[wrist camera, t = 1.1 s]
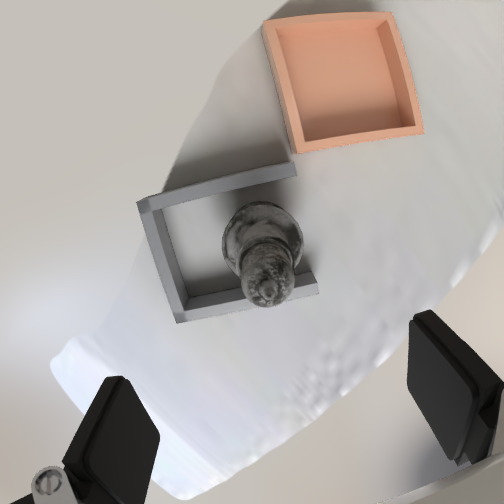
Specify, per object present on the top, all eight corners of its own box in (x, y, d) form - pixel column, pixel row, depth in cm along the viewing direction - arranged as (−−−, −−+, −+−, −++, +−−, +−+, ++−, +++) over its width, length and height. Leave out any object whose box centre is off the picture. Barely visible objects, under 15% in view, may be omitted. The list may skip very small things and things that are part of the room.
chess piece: (210, 236, 27) (182, 302, 15) (258, 182, 25) (265, 209, 14) (264, 280, 28) (273, 367, 16) (311, 230, 27) (355, 290, 15)
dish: (378, 23, 21) (391, 12, 18) (407, 134, 24) (424, 133, 21) (261, 34, 22) (263, 21, 19) (292, 153, 25) (297, 154, 22)
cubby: (289, 161, 25) (294, 162, 22) (313, 281, 28) (319, 293, 26) (146, 197, 26) (136, 202, 23) (182, 309, 29) (176, 323, 26)
